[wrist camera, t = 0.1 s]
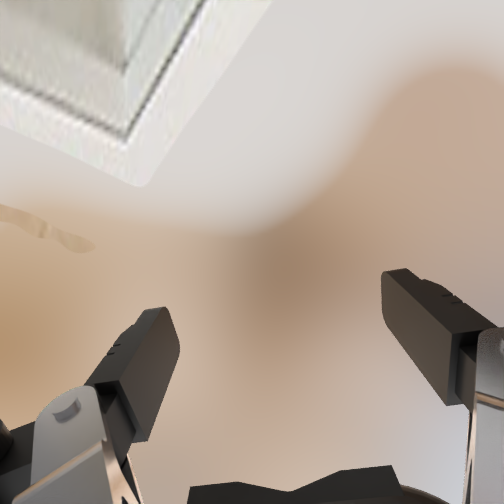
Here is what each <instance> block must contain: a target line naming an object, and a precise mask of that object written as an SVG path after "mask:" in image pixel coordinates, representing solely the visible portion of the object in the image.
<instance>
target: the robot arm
mask: <svg viewBox="0 0 504 504" xmlns="http://www.w3.org/2000/svg"><path fill="white" fill-rule="evenodd" d="M381 293H382V313H383V317H384V320H385V323H386V325H387V327H388V328H389V329H390V331H391V332H392V333H393V335H394V336H395V337H396V339H397V340H398V341H399V343H400V344H401V346H402V347H403V348H404V350H405V351H406V352H407V354H408V355H409V356H410V358H411V359H412V360H413V362H414V363H415V365H416V366H417V367H418V368H419V370H420V371H421V373H422V374H423V375H424V377H425V378H426V379H427V381H428V382H429V383H430V384H431V386H432V387H433V389H434V390H435V392H436V393H437V394H438V396H439V397H440V398H441V400H442V401H443V402H444V404H445V405H446V406H450V405H458V404H464V405H465V406H466V407H467V409H468V410H469V418H468V433H467V448H466V462H465V477H464V478H465V479H464V491H463V502H462V504H504V327H497V326H496V325H494V324H493V323H492V322H490V321H489V320H488V319H486V318H485V317H484V316H482V315H481V314H480V313H478V312H477V311H475V310H474V309H473V308H471V307H470V306H469V305H467V304H466V303H463V302H462V300H460V299H459V298H458V297H456V296H453V294H452V293H451V292H449V291H448V290H447V289H446V288H444V287H443V286H441V285H439V284H436V283H434V282H431V281H428V280H426V279H423V280H421V279H419V278H418V277H417V276H416V275H414V274H413V273H412V272H411V271H409V270H408V269H406V268H404V269H397V270H391V271H385V272H383V273H382V275H381ZM179 353H180V344H179V339H178V337H177V334H176V331H175V328H174V325H173V322H172V319H171V316H170V313H169V311H168V309H167V308H166V307H159V308H153V309H147V310H144V311H143V313H142V314H141V315H140V317H139V318H138V320H137V321H136V323H135V324H134V325H131V326H130V327H129V328H128V329H127V330H126V331H124V332H123V333H122V334H121V335H120V336H119V337H118V339H117V340H116V341H115V343H114V345H113V347H111V348H110V350H109V351H108V353H107V356H105V357H104V358H103V359H102V361H101V362H100V364H99V365H98V366H97V368H96V369H95V370H94V372H93V373H92V375H91V376H90V377H89V379H88V380H87V381H86V383H85V384H84V386H80V387H76V388H74V389H71V390H69V391H67V392H65V393H63V394H61V395H60V396H58V397H57V398H55V399H54V400H53V401H52V402H50V403H49V404H48V405H47V406H46V407H45V408H44V409H43V410H42V412H41V413H40V414H39V416H38V418H37V419H36V421H34V422H31V423H29V424H26V425H24V426H21V427H18V428H16V429H13V430H11V431H9V430H8V429H7V427H6V426H5V425H4V423H3V422H2V421H1V420H0V504H144V502H143V499H142V495H141V492H140V489H139V485H138V482H137V479H136V475H135V472H134V469H133V465H132V462H131V459H130V457H129V455H128V450H129V448H130V446H131V443H137V442H145V441H148V438H149V436H150V433H151V430H152V428H153V425H154V422H155V419H156V417H157V414H158V411H159V409H160V406H161V403H162V401H163V398H164V395H165V393H166V390H167V387H168V384H169V381H170V379H171V376H172V373H173V371H174V368H175V366H176V363H177V360H178V357H179ZM187 504H449V503H447V502H445V501H444V500H442V499H440V498H438V497H436V496H433V495H431V494H429V493H427V492H424V491H421V490H418V489H415V488H412V487H409V486H404V485H400V484H399V482H398V479H397V477H396V474H395V472H394V470H393V468H392V465H388V466H378V467H369V468H361V469H351V470H341V471H338V472H336V473H333V474H331V475H329V476H327V477H324V478H322V479H320V480H317V481H315V482H313V483H310V484H308V485H306V486H303V487H301V488H299V489H296V490H294V491H289V492H286V491H280V490H275V489H270V488H266V487H261V486H256V485H251V484H246V483H242V482H230V483H220V484H211V485H202V486H193V487H190V490H189V496H188V501H187Z"/></svg>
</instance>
